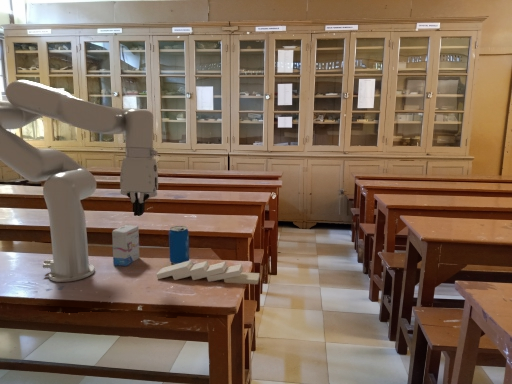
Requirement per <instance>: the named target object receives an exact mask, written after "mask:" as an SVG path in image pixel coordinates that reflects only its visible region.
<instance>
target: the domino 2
mask: <svg viewBox="0 0 512 384" xmlns="http://www.w3.org/2000/svg"><path fill="white" fill-rule="evenodd" d="M208 266H210V264H209V261H208V260H206V261H205V260H204V261H201V262H197V263H195V264H194V263H193V266H192V267H191V268H190V270H189V271H187V272H183V273H179V274H176V275H172V276H171V277H172V278H173V280H174V281H177V280H180V279H184V278H188V277H191V276H192V275H196V274H199V273H203V272H205V271H206V270H207V268H208Z"/></svg>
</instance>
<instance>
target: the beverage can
mask: <svg viewBox="0 0 512 384" xmlns="http://www.w3.org/2000/svg"><path fill="white" fill-rule="evenodd" d="M169 229H170V230H169V231H168V245H169V262H170V263H171V264H172V265H175V264H179V263H182V262H186V261H189V260H190V236H189V235H190V234H189V232H190V231H189V229H188V227H187V226H184V225H175V226H171V227H170V228H169Z"/></svg>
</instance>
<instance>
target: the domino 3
mask: <svg viewBox="0 0 512 384" xmlns="http://www.w3.org/2000/svg"><path fill="white" fill-rule="evenodd" d="M227 267H228V263H227V261H226V260H225V261H222V262H218V263H215V264H209V266H208V268H207V270H206V271H205V272H203V273H199V274H196V275H192V276H190V277H191V280H192V281H196V280H200V279H203V278H207V277H208V276H212V275H216V274H220V273H223V272H224V271H225V269H226V268H227Z"/></svg>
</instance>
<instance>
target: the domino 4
mask: <svg viewBox="0 0 512 384" xmlns="http://www.w3.org/2000/svg"><path fill="white" fill-rule="evenodd" d="M243 270H244V267H243V264H242V263H241V264H236V265H231V266H227V268H226V269H225V271H224V272H223V273H220V274H216V275H212V276H208V277H206V280H207V282H208V283H209V282H214V281H215V282H216V281H220V280H224V279H226V278H231V277H236V276H240V275H241V273H242V272H243Z"/></svg>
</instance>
